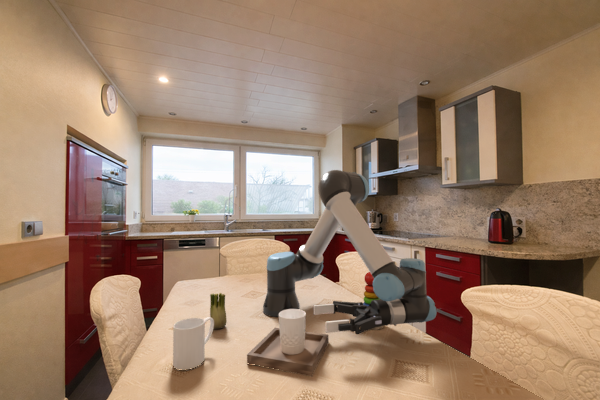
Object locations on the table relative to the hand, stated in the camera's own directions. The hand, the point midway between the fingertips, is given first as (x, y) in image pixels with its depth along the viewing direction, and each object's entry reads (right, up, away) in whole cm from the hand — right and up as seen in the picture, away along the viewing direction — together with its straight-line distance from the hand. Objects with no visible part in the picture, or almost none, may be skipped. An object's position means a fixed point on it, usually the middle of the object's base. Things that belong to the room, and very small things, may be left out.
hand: (319, 317), depth 79 cm
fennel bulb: (-35, -11, +17) cm, 40 cm away
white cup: (-8, -8, -2) cm, 12 cm away
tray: (-8, -9, -2) cm, 13 cm away
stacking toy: (+20, -10, +16) cm, 27 cm away
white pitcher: (-35, -10, -5) cm, 36 cm away
